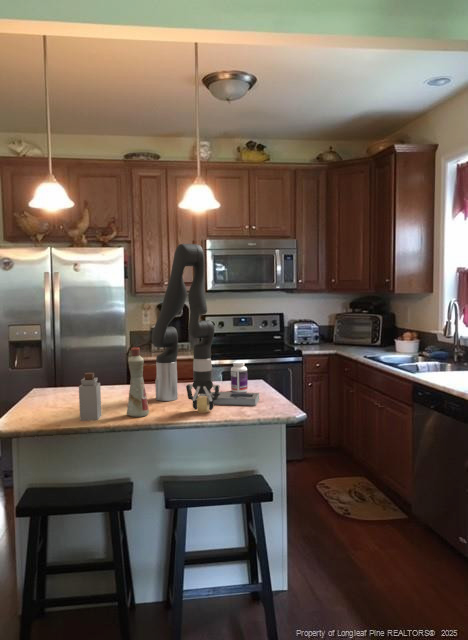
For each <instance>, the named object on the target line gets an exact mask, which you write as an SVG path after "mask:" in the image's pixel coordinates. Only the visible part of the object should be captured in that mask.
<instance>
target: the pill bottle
mask: <svg viewBox="0 0 468 640" xmlns="http://www.w3.org/2000/svg"><path fill="white" fill-rule="evenodd" d="M232 365H233V366H232V367H231V368H230V389H231V390H230V391H232V392H240V393H247V391H248V390H249V388H248V386H249V385H248V368H247V366H245V361H240V360H239V361H233V363H232Z"/></svg>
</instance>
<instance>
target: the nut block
mask: <svg viewBox="0 0 468 640" xmlns="http://www.w3.org/2000/svg"><path fill="white" fill-rule="evenodd" d="M198 396H199V395H198ZM196 400H197V411H196V412H197V413H201V414H202V413H203V414H204V413H205V414H206V413H208V412H209V411H210V410H209V398H208V396H199V397H198V398H197V399H196Z"/></svg>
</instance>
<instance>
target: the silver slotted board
mask: <svg viewBox="0 0 468 640" xmlns="http://www.w3.org/2000/svg"><path fill="white" fill-rule="evenodd" d="M211 393H212V396H213V397H214V394H215V391H211ZM199 396H207V394H199V395H198V397H199ZM198 397H197V398H198ZM209 401H210V400H209ZM259 402H260V392H242V393H240V392H233V391H232V392H231V391H219V394H218V398H217V399H216V400H214V401H213V403H214V406H217V405H219V406H220V405H221V406H249V407H250V406H251V407H254V406H257V404H258V403H259Z"/></svg>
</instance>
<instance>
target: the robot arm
mask: <svg viewBox="0 0 468 640" xmlns="http://www.w3.org/2000/svg"><path fill="white" fill-rule="evenodd" d="M185 267H193V278H192V279H193V280H192V282H191V284H190V287H189V290H187V286H186V285H185V281H184V278H183V277H184V276H183V275H184V269H185ZM187 296H188V297H187ZM186 299H188V307H189V321H188V333H189V335H190V337H191V338H192V339H201V342H199V343H196V344H195V345H193V363H192V369H193V371H192V373H193V383H192V384H190V383H188V384H186V386H185V388H186V389H185V390H186V393H187V398H188V400H191V401H192V409H193V410H195V411H196V410H197V397H198V396H199V395H200V394H207V396H208V398H209V400H210V401H209V411H212V410H213V409H214V406H215V405H214V403H213V401H214V400H216V399H217V398H218V394H219V392H220V386H221V385H220V384H214V383H213V377H212V376H213V375H212V373H213V371H212V369H213V366H212V359H211V358H212V357H211V355H212V354H211V353H212V352H211V351H212V350H211V348H212V344H213V340H214V335H215V325H214V323H213V321H211V320H207V319H206V320H200V317H201V316H204V315H206V314H207V313H208V307H207V300H206V291H205V254H204V250H203V248H202V246H201V245H200V244H196V243H195V244H194V243H193V244H192V243H180V244H178V245H177V247H176V249H175V252H174V255H173V261H172V265H171V271H170V276H169V281H168V284H167V286H166V290H165V293H164V297H163V300H162V304H161V308H160V311H159V314H158V317H157V320H156V322H155V325H154V327H153V330H152V334H151V343H152V346H154V347H155V348H165V349H164V351H163V352H161V353H160V354H157V355H156V358H155V359H156V363H155V365H156V366H155V368H156V378H155V385H154V388H155V400H156V401H161V402H169V401H177V400H178V395H179V394H178V365H177V364H178V363H177V359H178V353H179V351H178V348H179V334H178V331H177V328H175V327H174V326H169V324H170V323H171V322H172V321H173V319H175V318H176V316H178V315H179V314H180V312H182V310H183V309H184V306H185V303H186ZM212 388H213V391H214V392H215V394H214V397H213V396H212V393H211V392H212ZM192 390H194V391H195V392H194V394H193V393H192Z"/></svg>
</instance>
